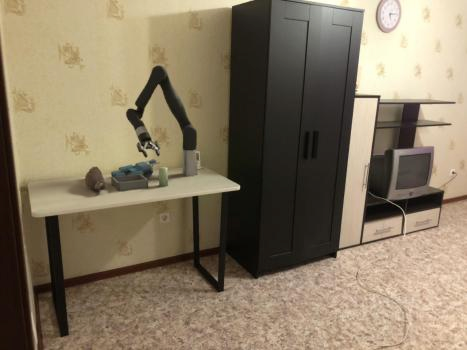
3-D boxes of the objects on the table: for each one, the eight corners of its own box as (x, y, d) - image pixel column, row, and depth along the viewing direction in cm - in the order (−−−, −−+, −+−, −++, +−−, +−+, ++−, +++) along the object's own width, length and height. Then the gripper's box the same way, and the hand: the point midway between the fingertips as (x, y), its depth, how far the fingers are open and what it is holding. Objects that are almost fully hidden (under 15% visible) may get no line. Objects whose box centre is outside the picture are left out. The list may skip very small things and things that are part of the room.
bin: (140, 181, 233) (139, 174, 232) (148, 187, 221) (147, 179, 220) (112, 185, 224) (111, 177, 223) (118, 191, 212) (118, 183, 211)
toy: (107, 166, 244) (150, 155, 260) (110, 179, 247) (152, 168, 263) (118, 173, 227) (163, 161, 242) (121, 187, 230) (165, 175, 245)
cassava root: (88, 199, 202) (107, 197, 207) (87, 180, 199) (107, 179, 203) (81, 175, 236) (98, 174, 241) (80, 158, 233) (97, 158, 237)
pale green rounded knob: (166, 183, 230) (165, 166, 227) (169, 186, 226) (169, 168, 223) (158, 185, 227) (157, 167, 225) (161, 187, 223) (160, 169, 220)
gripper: (135, 132, 229) (144, 153, 223) (155, 131, 238) (165, 151, 233) (131, 139, 234) (140, 160, 228) (150, 138, 243) (160, 158, 238)
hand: (152, 156), depth 231 cm, fingers open, 8 cm apart
